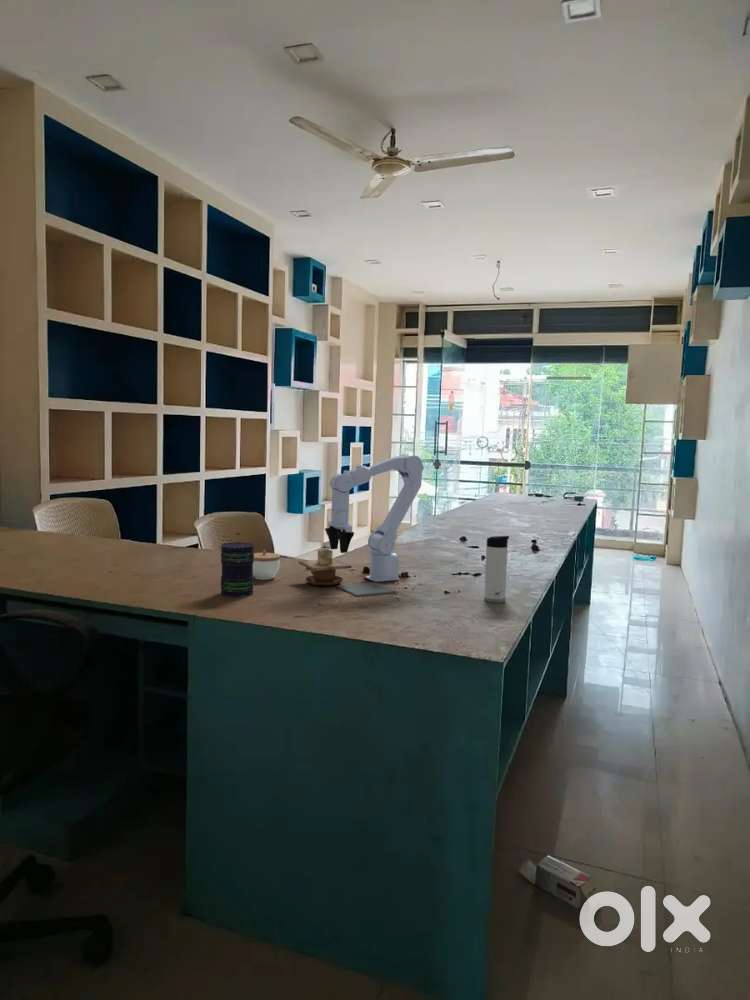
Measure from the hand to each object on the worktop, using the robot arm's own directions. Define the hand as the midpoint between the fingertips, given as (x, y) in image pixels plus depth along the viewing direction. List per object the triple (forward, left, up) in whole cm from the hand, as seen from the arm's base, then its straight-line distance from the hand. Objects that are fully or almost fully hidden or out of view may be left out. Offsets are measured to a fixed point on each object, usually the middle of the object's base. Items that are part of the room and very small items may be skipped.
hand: (338, 550), depth 227 cm
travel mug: (-33, +42, -11) cm, 54 cm away
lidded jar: (+21, -14, -11) cm, 27 cm away
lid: (+5, +1, -5) cm, 7 cm away
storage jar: (+36, +5, -11) cm, 38 cm away
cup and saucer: (+5, +1, -11) cm, 12 cm away
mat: (-3, +15, -10) cm, 18 cm away
